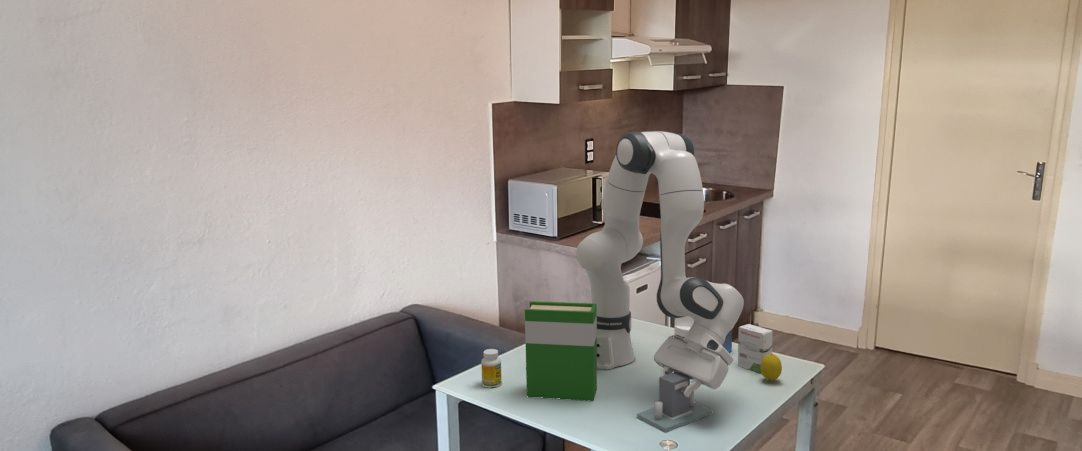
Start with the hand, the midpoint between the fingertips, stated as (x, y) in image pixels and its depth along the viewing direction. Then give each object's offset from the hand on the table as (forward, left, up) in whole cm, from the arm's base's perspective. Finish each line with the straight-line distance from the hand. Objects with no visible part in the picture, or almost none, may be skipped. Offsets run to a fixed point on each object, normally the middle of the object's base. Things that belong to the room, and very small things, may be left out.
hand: (673, 390), depth 195 cm
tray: (0, 0, -7) cm, 7 cm away
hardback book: (-30, +8, -7) cm, 32 cm away
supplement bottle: (-50, +10, -7) cm, 51 cm away
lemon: (+24, +26, -7) cm, 37 cm away
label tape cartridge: (+10, +44, -7) cm, 46 cm away
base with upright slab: (+1, +51, -7) cm, 52 cm away
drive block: (0, +1, -6) cm, 6 cm away
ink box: (+20, +35, -7) cm, 42 cm away
